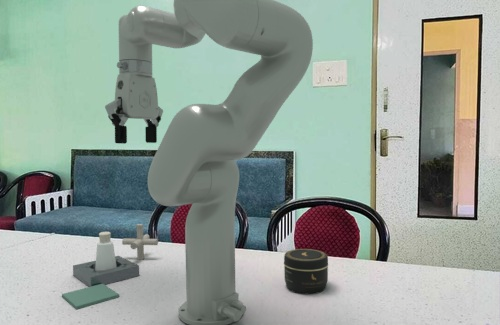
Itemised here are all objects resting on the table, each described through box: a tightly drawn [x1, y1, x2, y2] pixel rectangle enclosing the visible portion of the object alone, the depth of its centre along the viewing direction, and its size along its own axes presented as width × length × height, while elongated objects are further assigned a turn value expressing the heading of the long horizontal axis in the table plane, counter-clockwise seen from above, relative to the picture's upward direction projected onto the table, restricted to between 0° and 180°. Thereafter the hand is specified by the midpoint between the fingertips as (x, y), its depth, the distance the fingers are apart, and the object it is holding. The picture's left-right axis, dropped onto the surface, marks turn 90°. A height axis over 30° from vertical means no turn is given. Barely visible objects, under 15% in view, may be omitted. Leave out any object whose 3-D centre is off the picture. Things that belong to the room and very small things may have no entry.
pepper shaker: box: [95, 231, 117, 271], centre depth 98 cm, size 5×5×11 cm
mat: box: [61, 284, 120, 310], centre depth 85 cm, size 9×9×1 cm
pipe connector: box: [121, 223, 159, 261], centre depth 112 cm, size 10×10×10 cm
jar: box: [283, 248, 329, 295], centre depth 89 cm, size 10×10×8 cm
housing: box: [72, 255, 140, 287], centre depth 98 cm, size 12×12×3 cm
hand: (136, 142), depth 93 cm, fingers open, 9 cm apart
